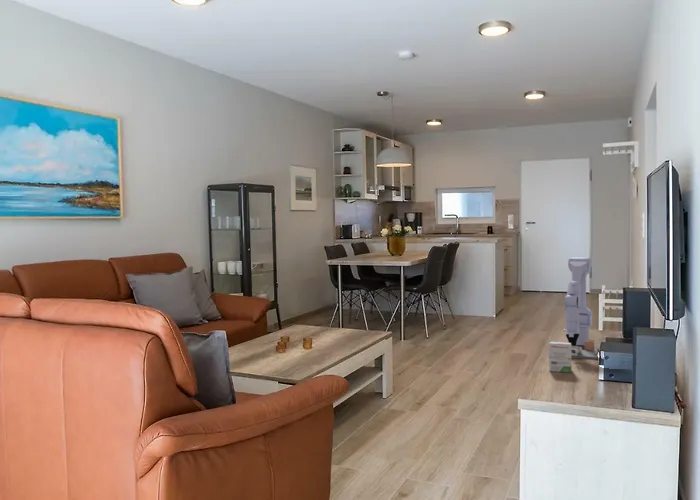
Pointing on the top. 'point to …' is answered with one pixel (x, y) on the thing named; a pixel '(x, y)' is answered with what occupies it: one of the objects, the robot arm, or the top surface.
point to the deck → (585, 354)
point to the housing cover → (574, 349)
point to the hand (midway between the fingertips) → (572, 349)
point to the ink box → (560, 357)
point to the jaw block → (589, 344)
